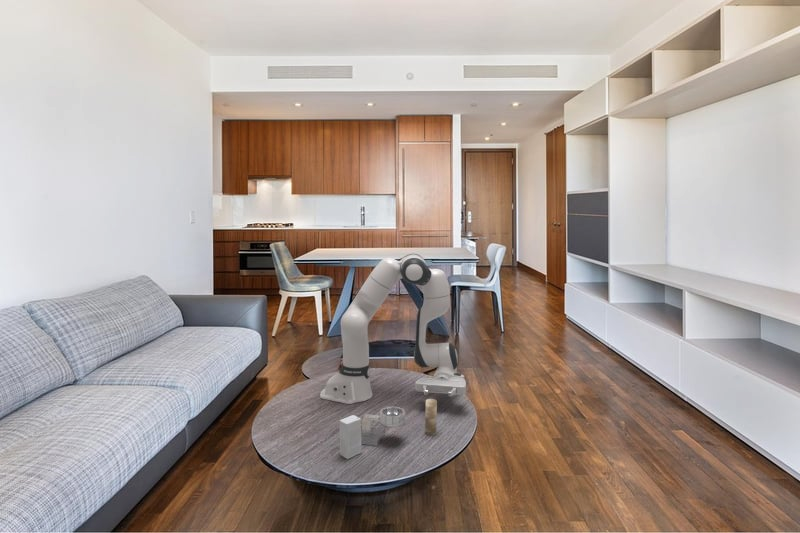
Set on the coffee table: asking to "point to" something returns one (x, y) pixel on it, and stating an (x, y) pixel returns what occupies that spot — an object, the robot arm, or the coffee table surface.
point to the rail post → (431, 417)
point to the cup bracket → (387, 418)
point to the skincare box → (350, 436)
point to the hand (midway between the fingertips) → (437, 393)
